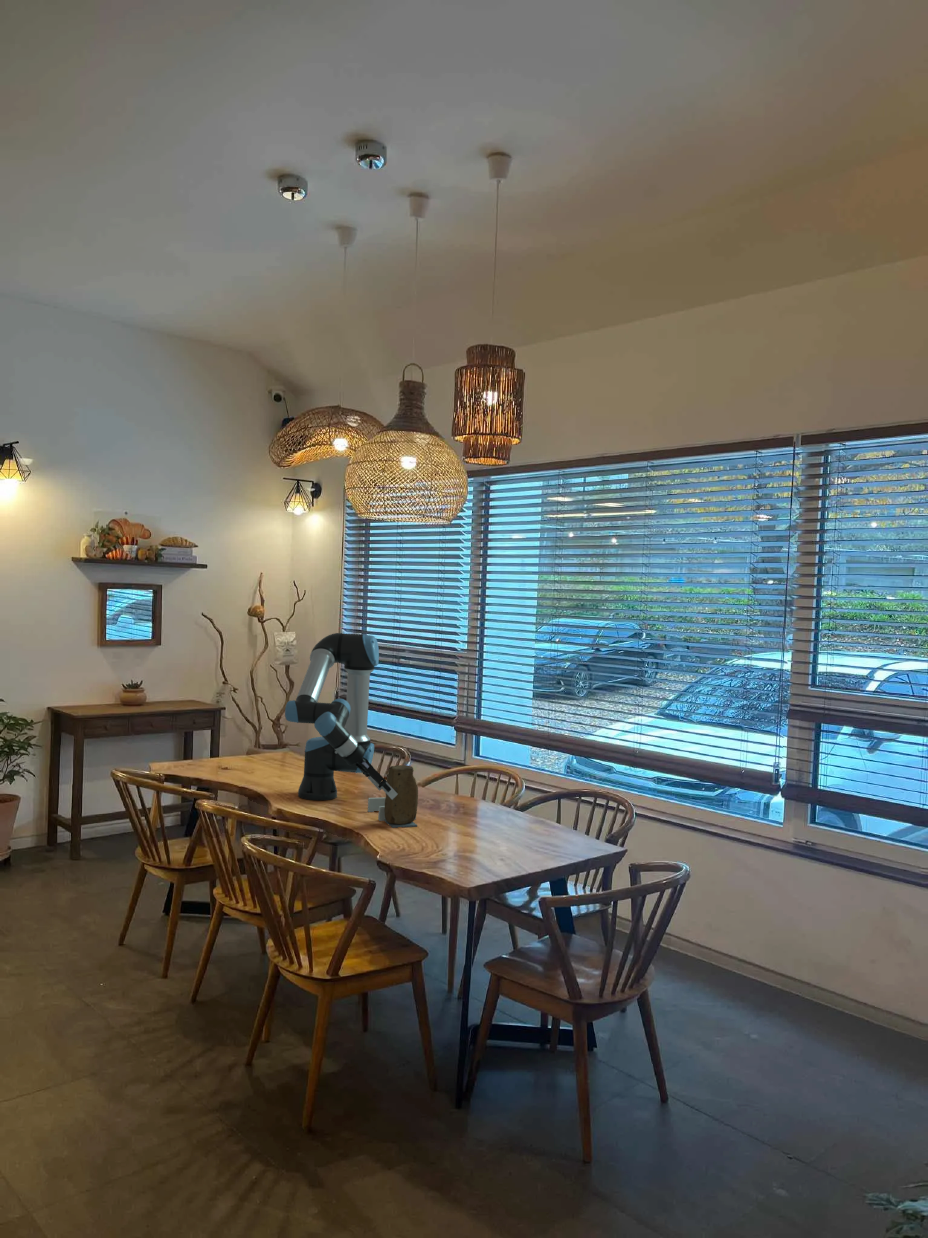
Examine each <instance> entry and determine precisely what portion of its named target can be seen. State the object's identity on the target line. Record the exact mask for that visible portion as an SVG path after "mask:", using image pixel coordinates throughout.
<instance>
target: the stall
mask: <svg viewBox="0 0 928 1238" xmlns="http://www.w3.org/2000/svg"><path fill="white" fill-rule="evenodd" d="M385 798H386V796H385V797H368V801H367V812H368V813H375V812H374V811H379V812H378V814H377V815H378V817H377V818H378V819H377V820H379V822H385V821H384V819H385ZM415 820H417V816H416V817H415V819H414V821H415Z"/></svg>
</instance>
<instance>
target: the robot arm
mask: <svg viewBox="0 0 928 1238" xmlns="http://www.w3.org/2000/svg"><path fill="white" fill-rule="evenodd" d="M379 650H380V649H379V643H378V640H377V638H376V636H374V635H371V634H365V633H364V634H363V633H359V634H358V633H342V632H335V633H334V632H333V633H332V634H328V635H327V636H325V637H323V638H321V639H320V641H318V642H317V643H316V644H315V645H314V647H313V648H312V650H311V652H310V655H309V661H310V663H309V665H308V668H307V670H306V672H305V675H304V678H303V681H302V682H301V685H300V689H299V691H298V693H297V696H296V698H295V700H294V699H293V700H288V701H287V702H286V705H285V709H284V711H285V712H284V717H285V720H286V721H287V722H290V723H291V722H292V723H297V724H299V723H300V724H313V725H314V728H315V729H316V731H317V733H319V735H320V736H317V737H311V738H309V739H307V740H306V742H305V746H304V747H305V749H304V760H303V761H304V763H303V765H304V766H303V777H302V780H301V782H300V785H299V787H298V790H297V791H298V792H297V796H298V797H299V798H300V799H304V800H310V801H328V800H329V801H331V800H334V799H336V798H337V797H338V788H337V786H336V782H335V781H336V780H335V775H334V774H335V772H344V773H345V772H346V773H355V774H358V773H359V774H363V775H365V777H366V778H367V779H368V780H369V782H371V784H373V786H374V787H375V788H376V789H377V790H378V791H379V792H380V791H381V790H383V792H384V793H385V795H386V794H387V795H388V796H389V797H390V798H391V799H392V800H393V799H394V798H395V797H396V796H397V795H398V794H397V793H396V792H395V790H394V789H393V788H392V787H391V786H390V785H389V784H388V783H387V778H386V779H385V778H384V776H382V775H381V774H380V773H379V771H377V770H376V769H375V768H374V766H373V765H372V762H373V757H374V755H375V754H374V751H375V744H374V743H372V742H371V737H370V736H369V735H368V719H369V718H368V716H369V701H370V700H369V699H370V678H371V674H372V673H373V672H374V670H375V667H376V666H378V665H379V662H380V660H379V658H380V651H379ZM334 664H343V669H344V670H345V672H347V681H346V683H347V684H346V700H345V699H344V698H336V699H334V700H332V702H319V698H320V695H321V693H322V690H323V688H324V684H325V682H326V680H327V676H328V673H329V671H330V669H331V668H332V667H333V666H334Z"/></svg>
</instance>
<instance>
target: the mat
mask: <svg viewBox="0 0 928 1238" xmlns="http://www.w3.org/2000/svg"><path fill="white" fill-rule="evenodd" d="M383 822H384V823H386V824H387V825H388V824H389V825H388V826H389V827H391V829H394V828H395V829H396V828H398V827H402V828H416V827H418V824H417V823H416V822H415V821H413V822H412V823H406V824H400V825H399V824H398V825H397V824H391V823H389V822H387V820H386V819H384V821H383ZM398 829H399V828H398Z"/></svg>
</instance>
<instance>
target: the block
mask: <svg viewBox="0 0 928 1238" xmlns="http://www.w3.org/2000/svg"><path fill="white" fill-rule="evenodd" d="M387 773H388V775H387V778H386V781H387V783H388V784H389V785H390V786H391V787H392V788H393V789H394V790H395V792H396V793H397V794H398V795H397V796H396V797H395V798H394V799H393V800H392V799H391V798H390V797H389V796H388V795H387V794H386V793H385V797H386V798H385V797H384V798H385V819H386V820H387V822H389V823H391V824H397V825H398V824H399V825H400V824H406V823H412V822H415V820H416V819H415V817H416V818H417V813H418V804H419V803H418V802H419V786H418V784H417V781H416V780H417V779H416V778H415V776H414V767H413V766H412V765H408V764H403V765H392V766H389V767H388V769H387ZM414 819H415V820H414Z"/></svg>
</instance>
